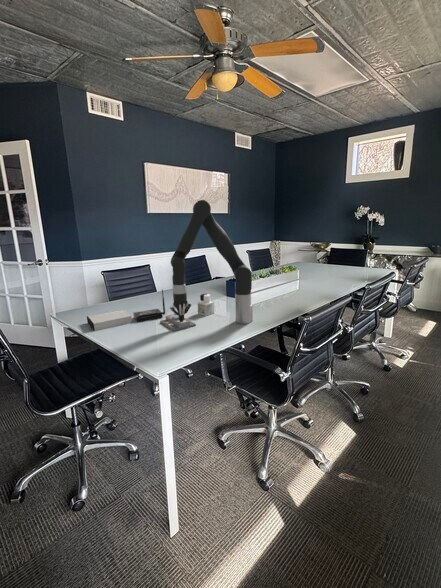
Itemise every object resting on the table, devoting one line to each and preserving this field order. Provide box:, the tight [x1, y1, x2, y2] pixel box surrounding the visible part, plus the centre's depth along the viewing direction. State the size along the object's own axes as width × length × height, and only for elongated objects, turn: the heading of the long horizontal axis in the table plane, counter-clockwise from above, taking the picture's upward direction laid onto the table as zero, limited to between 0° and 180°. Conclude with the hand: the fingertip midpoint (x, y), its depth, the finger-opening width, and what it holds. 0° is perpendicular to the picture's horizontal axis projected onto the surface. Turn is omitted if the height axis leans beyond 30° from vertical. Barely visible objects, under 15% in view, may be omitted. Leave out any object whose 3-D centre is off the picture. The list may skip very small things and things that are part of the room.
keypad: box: [159, 313, 197, 332], centre depth 174 cm, size 14×19×4 cm
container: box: [197, 293, 215, 317], centre depth 192 cm, size 8×8×13 cm
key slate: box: [172, 315, 179, 321], centre depth 174 cm, size 4×4×2 cm
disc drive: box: [86, 309, 133, 332], centre depth 181 cm, size 18×22×5 cm
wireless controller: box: [132, 289, 166, 323], centre depth 188 cm, size 20×14×17 cm
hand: (181, 321), depth 169 cm, fingers closed
